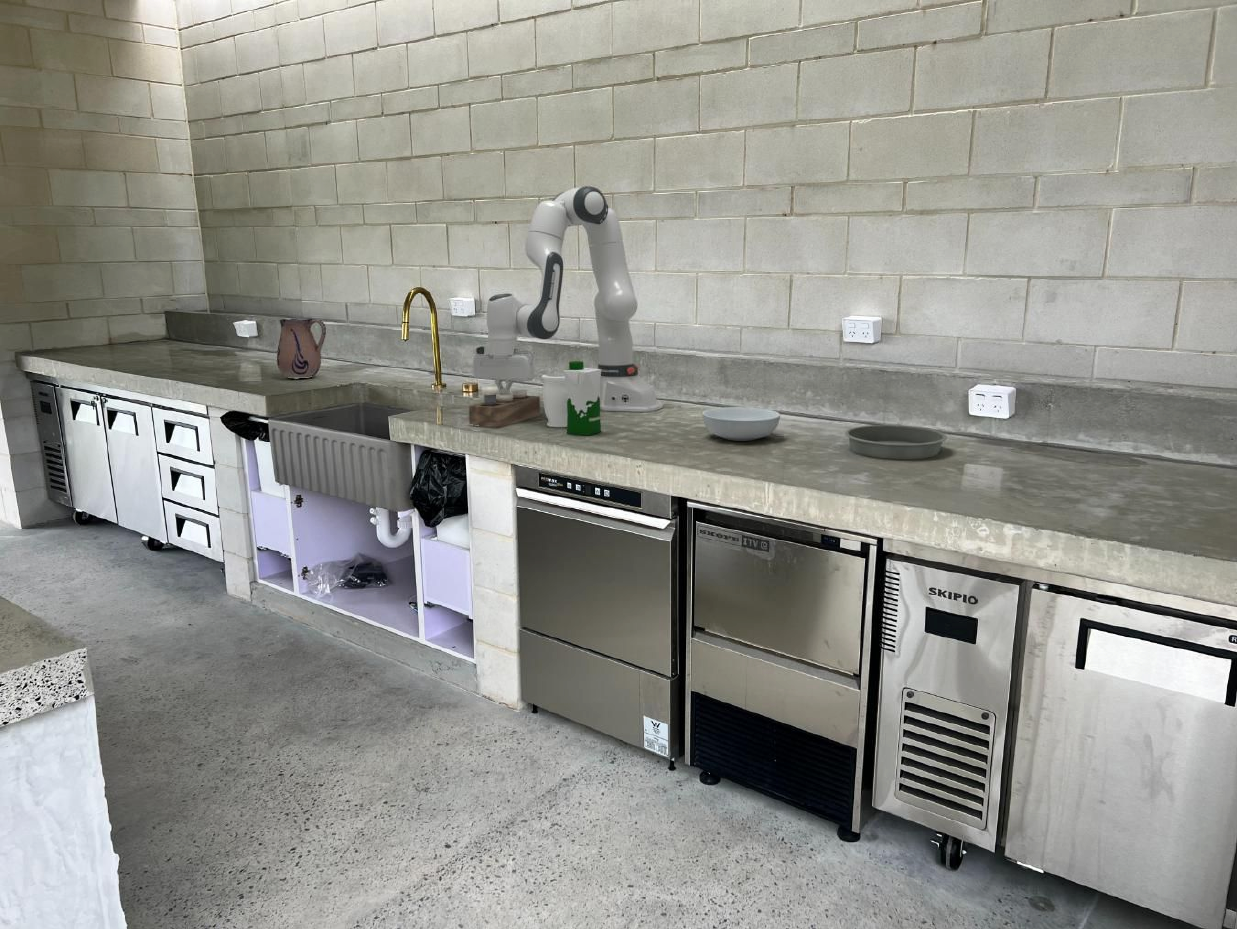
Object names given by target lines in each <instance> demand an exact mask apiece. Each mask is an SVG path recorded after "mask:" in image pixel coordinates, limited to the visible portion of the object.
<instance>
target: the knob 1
mask: <svg viewBox="0 0 1237 929" xmlns="http://www.w3.org/2000/svg"><path fill="white" fill-rule="evenodd" d="M497 394H499V389H498V387H497V385H495V386H494V385H487V386H486V385H485V386H481V395H483V402H484V406H490V407H494V406H497V401H496V399H497Z"/></svg>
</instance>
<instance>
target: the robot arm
mask: <svg viewBox="0 0 1237 929" xmlns="http://www.w3.org/2000/svg"><path fill="white" fill-rule="evenodd" d="M616 213H617V212H616V211H615V210H613V209H612V208H610V207H609V205H608V203H607V200H606V198H605V195H604V194H603V193H602V191H601V190H600V189H599V188H597V187H595V186H590V185H586V186H585V185H584V186H581V187H580V186H579V187H572V188H570V189H569V190H566V191H561V192H560V193H559V194H557V195H555V196H554V198H553V199H552V200H543V201H541V202H540V203H539V204H538V205H537V207H536V209H535V211H534V213H533V216H532V218H531V221H530V224H529V227H528V231H527V234H526V235H527V236H526V238H525V248H524V249H525V254H526V256H527V258H528V260H529V261H530V263H532V264H533V265H534V266H536V267H537V268H538V269H539V270H540V272H541V283H540V291H539V298H538V302H537V303H536V304H528V303H526V302H523V301H522V300H520V299H518V298H517V297H515V296H514V295H513V293H507V292H506V293H500V294H499V293H498V294H494V295H493V296H491V297H490V298H489V299H488V301H487V303H486V304H487V306H486V326H487V330H488V333H487V334H488V335H487V343H483V344H481V345H478V346H476V347H474V348H473V354H474V357H473V359H472V373H473V374H472V375H473V377H474V378H475V379H486V380H494V384H495V386H497V387H498V394H504V395H508V394H510V393H511V392H510V391H511V387H512V386H513V383H514V381H521V382H522V381H523V382H529V381H530V382H531V381H533V379H534V378H535V377H536V376H535V375H536V374H535V368H534V367H535V366H534V362H533V361H534V355H533V354H532V352H531V351H530V350H528V349H518V335H519V336H521V337H522V336H523V337H529V338H536V339H539V340H549V339H550V338H552V337H554V336H555V335H556V333H557V332H558V330H559V327H560V323H561V321H560V319H561V318H560V302H561V301H560V298H561V293H562V292H561V291H562V285H563V277H564V276H563V275H564V260H563V257H562V251H563V244H564V240H565V235H566V231H567V229H568V227H572V226H574V227H575V226H582V227H583V228H584V230H585V232H586V235H587V242H588V243H587V244H588V250H589V254H590V255H589V256H590V262H591V269H592V272H593V276H594V278H595V282H596V285H597V289H598V291H597V293H596V295H595V297H594V300H593V301H594V302H593V303H594V304H593V306H594V314H595V322H596V324H595V325H596V330H597V336H598V364H597V369H601V377H600V411H604V412H605V411H608V412H612V411H613V412H637V413H641V412H642V413H644V412H652V411H653V412H655V411H657V410H660V409H662V408H663V407H664V404H663V403H662V402H657V395H656V391H655V389H654V387H653V386H652V385H650V384H649V383H648V382H647V381H646V380H644V379H643V378H642V377H641V376H639V373H638V372H639V370H641V366H639V365H638V366H637V365H635V364H634V360H633V357H634V356H633V354H634V352H633V351H634V350H633V349H634V348H633V343H634V340H633V337H632V333H631V326H630V319H631V318H633V317H634V316H635V314H636V312H637V310H638V301H637V298H636V294H635V291H634V287H633V284H632V279H631V276H630V273H629V268H628V265H627V258H626V250H625V245H624V239H623V233H622V228H621V225H620V221H619V219H618V215H617V214H616ZM503 382H504V383H505V384H506V385H505V386H503Z"/></svg>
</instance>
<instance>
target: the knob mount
mask: <svg viewBox="0 0 1237 929" xmlns="http://www.w3.org/2000/svg"><path fill="white" fill-rule="evenodd" d="M540 397H541V396H539V395H527V397H525V398H524V399H514V398H513V401H511V402H509V403H504V402H498V401H497V398H496V401H497V406H494V407H490V406H484V401H483V402H479V403H475V404H471V405H469V406H468V416H469V425H470V424H473V425H479V426H485V427H484V428H490V427H492V428H493V429H499V428H502V427H506V426H510V425H513V424H515V423H519V422H523V421H527V420H530V419H533V418H535V417H540V416H541V402H540V401H541V399H540Z"/></svg>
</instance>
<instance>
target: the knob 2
mask: <svg viewBox="0 0 1237 929" xmlns="http://www.w3.org/2000/svg"><path fill="white" fill-rule="evenodd" d="M527 390H528V389H520V388H518V389H510V391H511V392H510V393H512V394H513V398H514V399H524V398H525V397H527V396H528V391H527Z"/></svg>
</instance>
